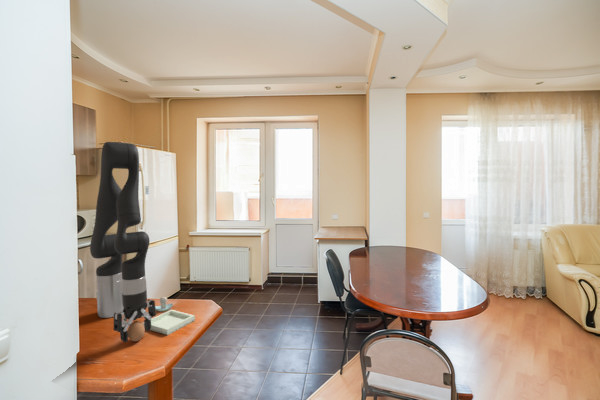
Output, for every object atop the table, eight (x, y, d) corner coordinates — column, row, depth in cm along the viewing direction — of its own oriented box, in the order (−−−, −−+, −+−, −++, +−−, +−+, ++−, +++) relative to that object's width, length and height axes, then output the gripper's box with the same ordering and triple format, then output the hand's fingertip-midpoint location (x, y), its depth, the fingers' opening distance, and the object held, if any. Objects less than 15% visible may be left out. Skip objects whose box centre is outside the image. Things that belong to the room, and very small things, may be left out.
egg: (125, 345, 106) (124, 325, 106) (130, 337, 112) (129, 318, 111) (143, 343, 108) (142, 323, 107) (146, 335, 113) (146, 316, 112)
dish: (143, 327, 119) (142, 322, 119) (171, 314, 131) (171, 309, 131) (167, 335, 113) (167, 329, 113) (194, 320, 125) (194, 315, 125)
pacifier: (153, 309, 137) (154, 314, 131) (153, 295, 136) (154, 299, 131) (172, 306, 140) (173, 310, 135) (171, 292, 140) (172, 296, 134)
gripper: (145, 282, 116) (147, 324, 118) (107, 295, 104) (109, 342, 105) (159, 285, 113) (161, 329, 114) (121, 298, 100) (123, 348, 101)
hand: (136, 335), depth 109 cm, fingers open, 8 cm apart
